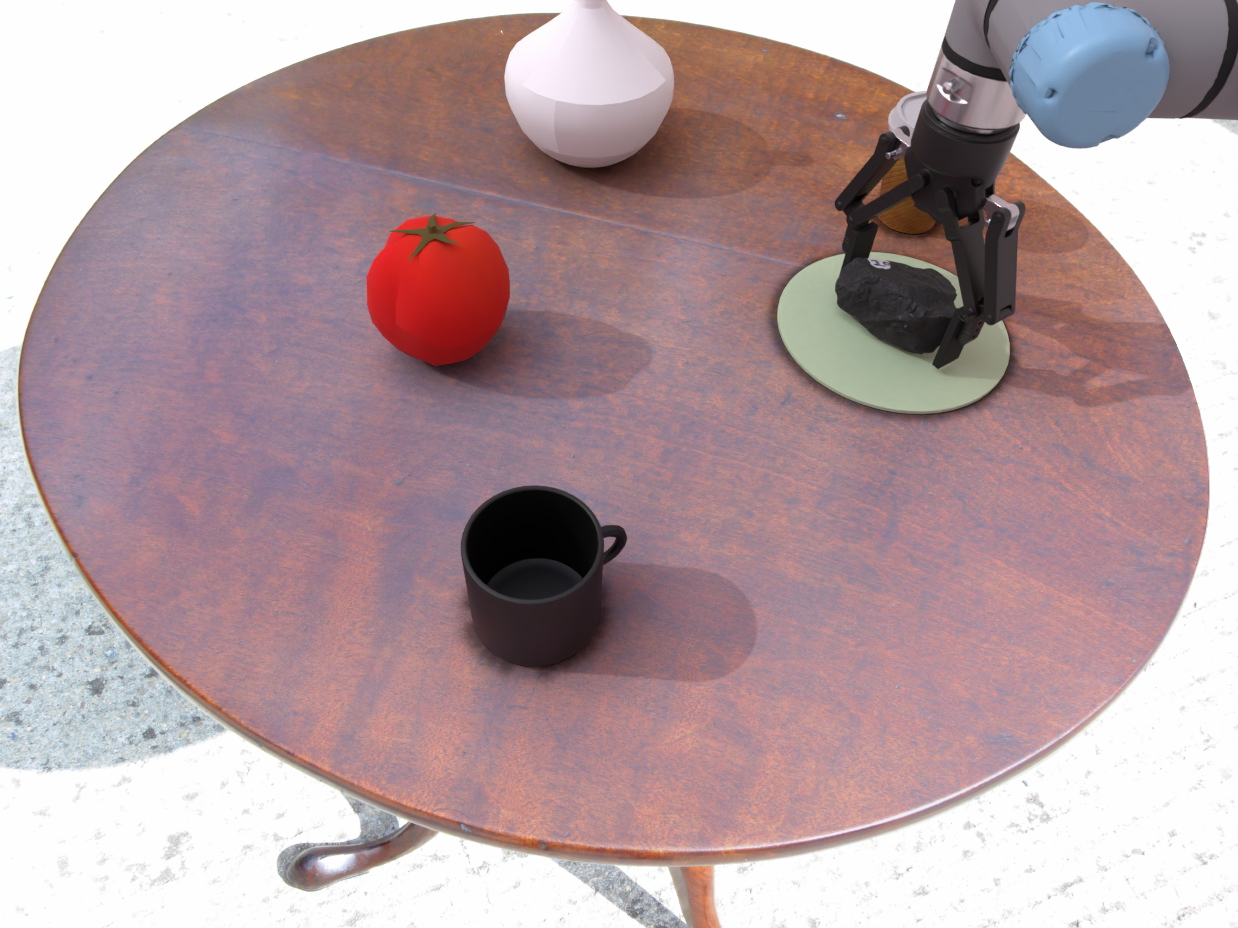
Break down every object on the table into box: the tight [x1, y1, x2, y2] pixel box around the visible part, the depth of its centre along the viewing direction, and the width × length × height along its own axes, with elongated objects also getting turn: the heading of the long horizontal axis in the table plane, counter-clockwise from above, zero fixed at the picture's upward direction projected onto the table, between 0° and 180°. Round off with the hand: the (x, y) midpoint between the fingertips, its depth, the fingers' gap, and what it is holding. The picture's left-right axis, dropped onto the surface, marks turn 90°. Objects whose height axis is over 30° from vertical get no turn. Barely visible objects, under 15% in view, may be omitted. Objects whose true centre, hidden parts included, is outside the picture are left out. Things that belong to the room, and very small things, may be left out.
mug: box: [460, 484, 628, 667], centre depth 64 cm, size 9×12×9 cm
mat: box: [776, 251, 1011, 415], centre depth 88 cm, size 22×22×1 cm
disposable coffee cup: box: [877, 90, 937, 235], centre depth 95 cm, size 10×10×12 cm
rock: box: [835, 257, 958, 354], centre depth 85 cm, size 9×10×6 cm
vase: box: [503, 0, 675, 169], centre depth 98 cm, size 18×18×19 cm
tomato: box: [365, 212, 511, 367], centre depth 79 cm, size 12×12×13 cm
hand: (895, 320), depth 87 cm, fingers closed on rock, 12 cm apart
